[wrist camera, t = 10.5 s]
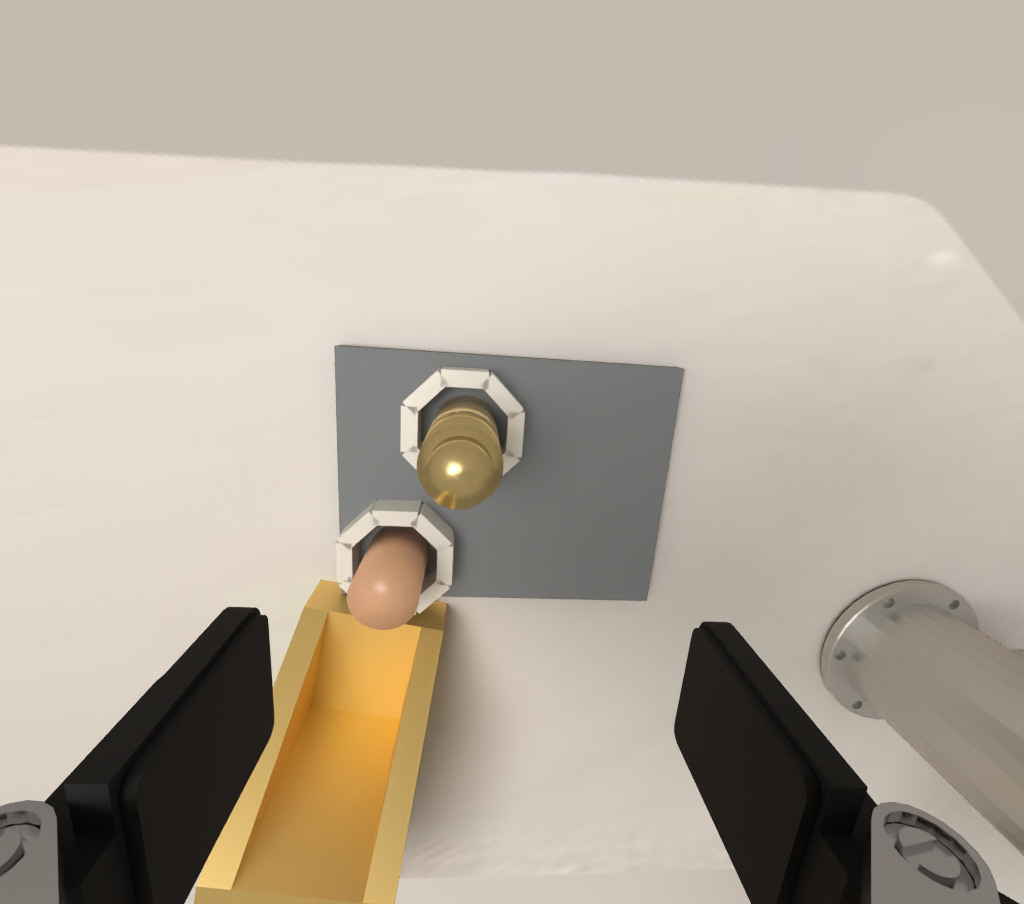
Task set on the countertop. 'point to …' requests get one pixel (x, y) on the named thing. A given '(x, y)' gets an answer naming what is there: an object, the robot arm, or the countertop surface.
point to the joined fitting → (394, 562)
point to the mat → (524, 469)
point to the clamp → (333, 764)
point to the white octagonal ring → (462, 379)
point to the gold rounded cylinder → (461, 454)
